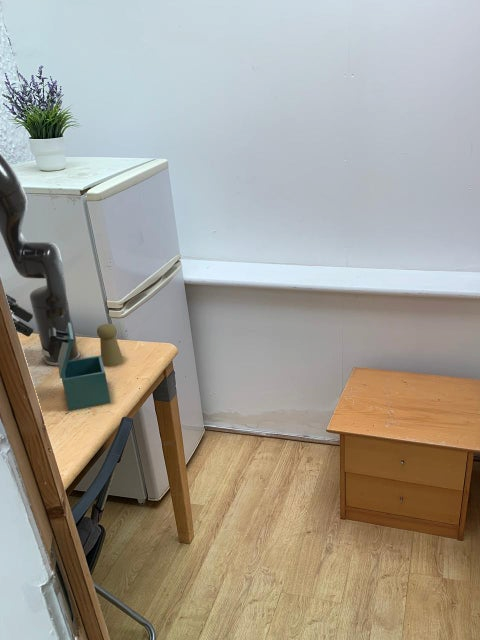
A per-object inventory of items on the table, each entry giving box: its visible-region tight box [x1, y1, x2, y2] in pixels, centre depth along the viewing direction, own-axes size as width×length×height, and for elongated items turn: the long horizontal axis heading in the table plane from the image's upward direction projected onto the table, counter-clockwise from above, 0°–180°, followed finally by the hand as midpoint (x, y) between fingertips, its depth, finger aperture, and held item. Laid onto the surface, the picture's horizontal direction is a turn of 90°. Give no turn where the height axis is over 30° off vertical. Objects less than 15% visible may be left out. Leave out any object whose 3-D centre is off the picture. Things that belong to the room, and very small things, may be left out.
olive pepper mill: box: [96, 323, 124, 367], centre depth 169 cm, size 6×6×11 cm
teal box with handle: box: [49, 322, 74, 379], centre depth 146 cm, size 10×10×5 cm
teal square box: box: [61, 354, 112, 412], centre depth 153 cm, size 10×10×9 cm
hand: (31, 325), depth 141 cm, fingers open, 8 cm apart
